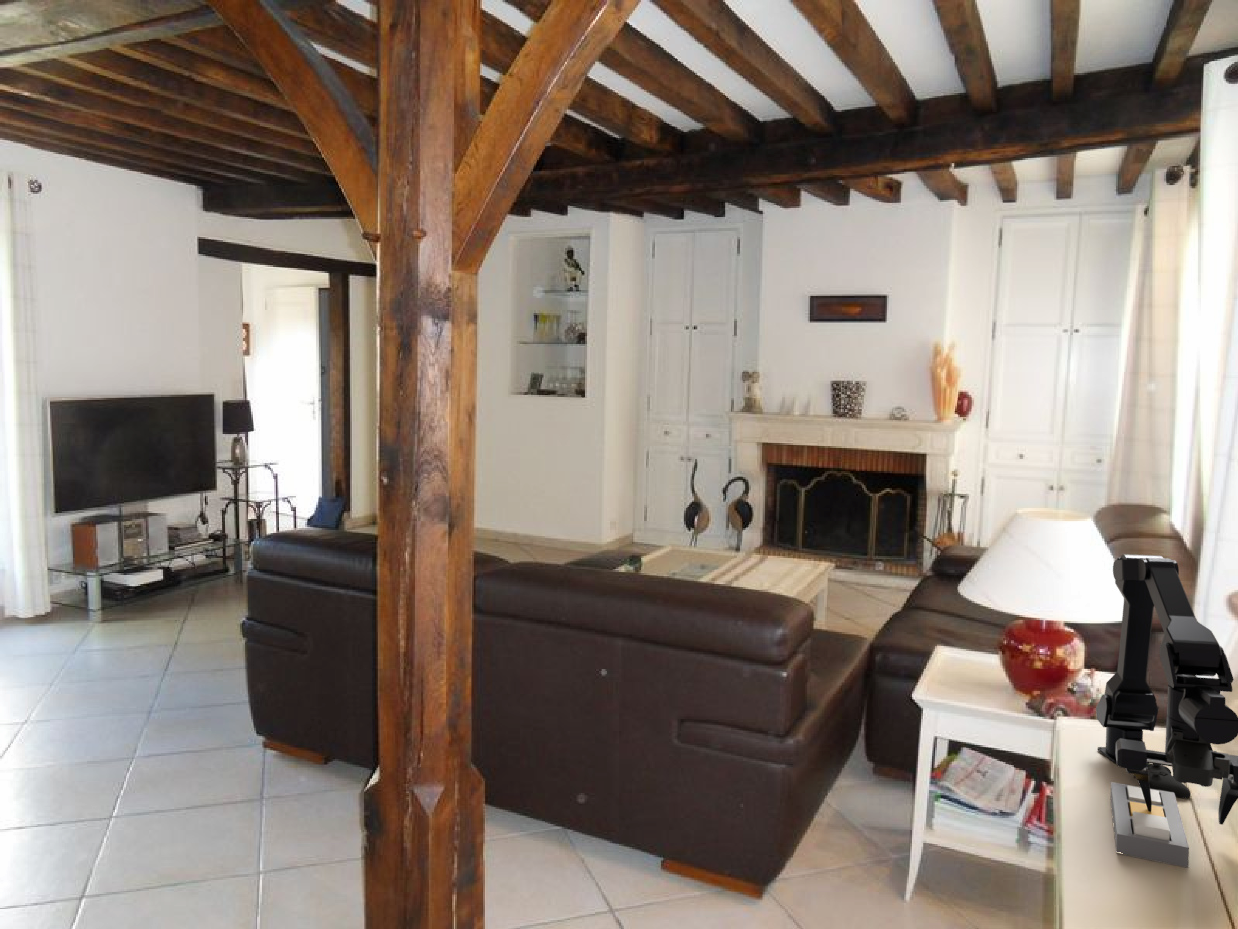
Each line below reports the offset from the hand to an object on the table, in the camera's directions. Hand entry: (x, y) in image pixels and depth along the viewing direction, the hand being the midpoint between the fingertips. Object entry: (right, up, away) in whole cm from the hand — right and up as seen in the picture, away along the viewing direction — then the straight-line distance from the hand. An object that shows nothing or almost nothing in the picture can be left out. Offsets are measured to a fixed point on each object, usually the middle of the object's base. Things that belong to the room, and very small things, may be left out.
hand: (1184, 817), depth 133 cm
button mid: (-4, -2, +2) cm, 5 cm away
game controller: (+7, -2, +18) cm, 19 cm away
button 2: (-7, -1, -3) cm, 8 cm away
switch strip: (-4, -3, +2) cm, 6 cm away
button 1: (-2, -1, +8) cm, 8 cm away
